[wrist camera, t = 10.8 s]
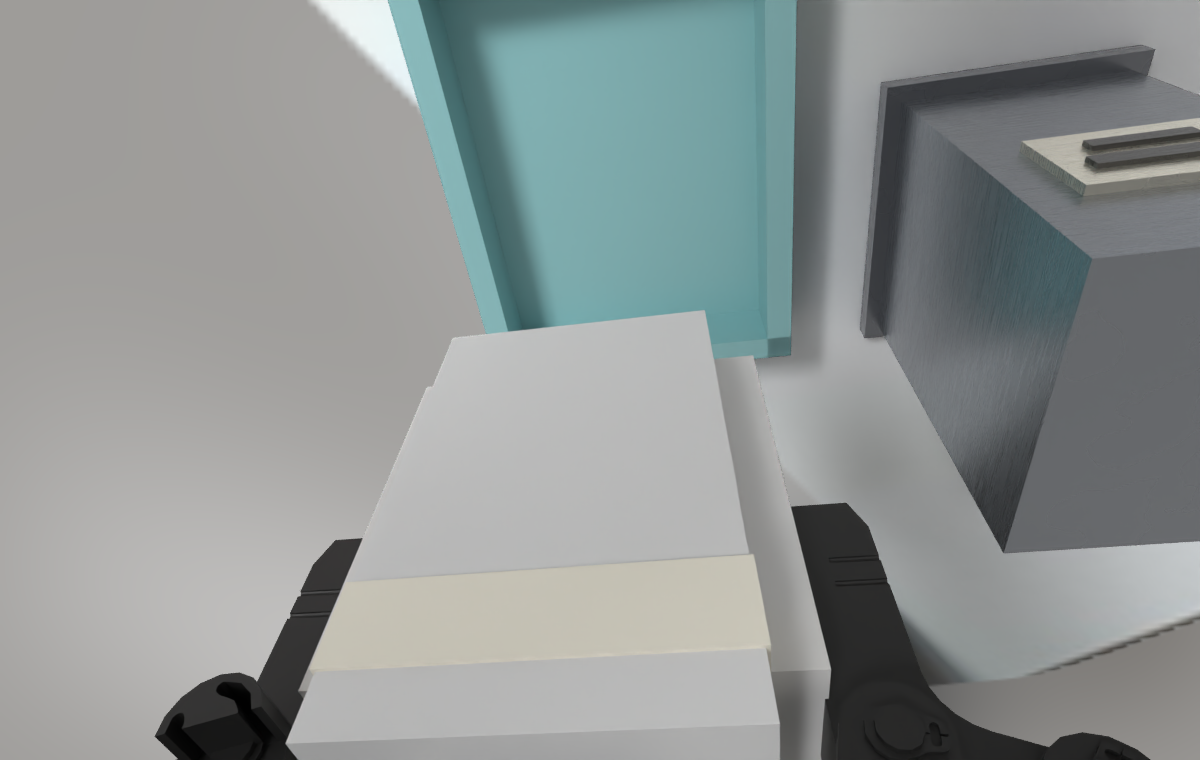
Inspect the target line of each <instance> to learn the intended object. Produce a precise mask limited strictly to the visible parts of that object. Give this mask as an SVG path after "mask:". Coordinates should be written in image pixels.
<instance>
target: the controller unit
mask: <svg viewBox="0 0 1200 760" xmlns="http://www.w3.org/2000/svg"><path fill="white" fill-rule="evenodd" d="M1154 52H1155V49H1153V48H1150V47H1147V46H1143V45H1138V46H1131V47H1124V48H1117V49H1110V50H1103V51H1096V52H1089V53H1082V54H1075V55H1069V56H1062V57H1055V58H1048V59H1041V60H1034V61H1027V62H1020V63H1013V64H1006V65H999V66H992V67H986V68H979V69H972V70H965V71H958V72H951V73H944V74H937V75H930V76H923V77H916V78H909V79H903V80H896V81H889V82H882V83H881V91H880V102H879V114H878V125H877V137H876V149H875V160H874V172H873V183H872V195H871V206H870V218H869V230H868V241H867V253H866V264H865V276H864V287H863V299H862V311H861V322H860V330H861V332H862V334H863V336H864V338H871V337H881V336H885V338H886V340H887V342H888V344H889V345H890V347H891V349H892V351H893V353H894V355H895V356H896V358H897V360H898V362H899V364H900V365H901V367H902V369H903V371H904V373H905V375H906V376H907V378H908V380H909V382H910V384H911V385H912V387H913V389H914V391H915V393H916V395H917V396H918V398H919V400H920V402H921V404H922V405H923V407H924V409H925V411H926V413H927V415H928V416H929V418H930V420H931V422H932V424H933V426H934V427H935V429H936V431H937V433H938V435H939V436H940V438H941V440H942V442H943V444H944V446H945V447H946V449H947V451H948V453H949V455H950V456H951V458H952V460H953V462H954V464H955V466H956V467H957V469H958V471H959V473H960V475H961V476H962V478H963V480H964V482H965V484H966V486H967V487H968V489H969V491H970V493H971V495H972V497H973V498H974V500H975V502H976V504H977V506H978V507H979V509H980V511H981V513H982V515H983V517H984V518H985V520H986V522H987V524H988V526H989V527H990V529H991V531H992V533H993V535H994V537H995V538H996V540H997V542H998V544H999V546H1000V547H1001V549H1002V551H1003V553H1017V552H1033V551H1049V550H1065V549H1081V548H1097V547H1113V546H1129V545H1145V544H1162V543H1178V542H1194V541H1200V95H1197V94H1194V93H1192V92H1189V91H1187V90H1184V89H1181V88H1179V87H1176V86H1173V85H1171V84H1168V83H1165V82H1163V81H1160V80H1158V79H1155V78H1152V77H1150V76H1147V75H1148V71H1149V68H1150V65H1151V61H1152V58H1153V55H1154Z"/></svg>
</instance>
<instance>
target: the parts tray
mask: <svg viewBox="0 0 1200 760" xmlns="http://www.w3.org/2000/svg"><path fill="white" fill-rule="evenodd" d="M388 3H389V6H390V10H391V13H392V16H393V20H394V23H395V27H396V30H397V33H398V37H399V40H400V43H401V47H402V50H403V54H404V57H405V60H406V64H407V67H408V71H409V74H410V77H411V81H412V84H413V88H414V91H415V94H416V98H417V101H418V105H419V108H420V111H421V115H422V118H423V121H424V125H425V128H426V132H427V135H428V138H429V142H430V145H431V149H432V152H433V155H434V159H435V162H436V166H437V169H438V172H439V176H440V179H441V183H442V186H443V189H444V193H445V196H446V199H447V203H448V206H449V209H450V213H451V216H452V219H453V223H454V226H455V230H456V233H457V237H458V240H459V243H460V247H461V250H462V254H463V257H464V260H465V264H466V267H467V271H468V274H469V277H470V281H471V284H472V287H473V291H474V294H475V298H476V301H477V305H478V308H479V311H480V315H481V318H482V321H483V325H484V328H485V331H486V334H492V333H501V332H510V331H519V330H528V329H537V328H547V327H556V326H565V325H574V324H583V323H592V322H601V321H610V320H619V319H628V318H637V317H646V316H655V315H664V314H673V313H682V312H691V311H700V310H705V314H706V319H707V325H708V330H709V336H710V341H711V347H712V352H713V358H714V359H720V358H730V357H740V356H750V355H753V357H754V359H758V358H768V357H778V356H788V355H791V310H792V250H793V190H794V130H795V70H796V10H797V0H388Z"/></svg>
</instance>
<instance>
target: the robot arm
mask: <svg viewBox="0 0 1200 760" xmlns="http://www.w3.org/2000/svg"><path fill="white" fill-rule="evenodd" d="M714 363H715V369H716V374H717V380H718V385H719V391H720V397H721V402H722V408H723V413H724V419H725V424H726V430H727V435H728V441H729V446H730V452H731V457H732V463H733V468H734V474H735V479H736V485H737V490H738V496H739V501H740V507H741V512H742V518H743V523H744V529H745V534H746V540H747V545H748V551H749V555H750V554H754V557H755V563H756V568H757V573H758V579H759V584H760V589H761V595H762V600H763V605H764V610H765V616H766V621H767V626H768V632H769V637H770V642H771V677H772V683H773V688H774V694H775V699H776V705H777V710H778V716H779V722H780V760H1150V759H1149V758H1147V757H1146V756H1145V755H1143V754H1142V753H1141V752H1139V751H1138V750H1137V749H1135V748H1133V747H1130V746H1128V745H1126V744H1124V743H1122V742H1120V741H1117V740H1115V739H1113V738H1111V737H1108V736H1102V735H1095V734H1089V733H1083V732H1082V733H1078V734H1073V735H1068V736H1063V737H1060V738H1059V739H1058V740H1057V741H1056V742H1055V743H1053V744H1052V745H1051V746H1050V747H1046V746H1042V745H1039V744H1035V743H1032V742H1028V741H1024V740H1021V739H1017V738H1014V737H1010V736H1006V735H1003V734H999V733H995V732H992V731H989V730H987V729H984V728H981V727H979V726H976V725H974V724H972V723H970V722H968V721H967V720H965V719H963V718H961V717H960V716H958V715H956V714H955V713H954V712H953V711H951V710H950V709H949V708H948V707H947V706H946V705H944V704H943V703H942V702H941V701H940V700H939V699H938V698H937V696H936V695H935V694H934V693H933V691H932V690H931V689H930V688H929V686H928V685H927V683H926V681H925V679H924V677H923V675H922V673H921V671H920V668H919V665H918V662H917V659H916V657H915V654H914V651H913V648H912V646H911V643H910V640H909V637H908V635H907V632H906V629H905V626H904V624H903V621H902V618H901V615H900V613H899V610H898V607H897V604H896V602H895V599H894V596H893V593H892V590H891V588H890V585H889V584H888V583H887V577H886V574H885V571H884V568H883V566H882V563H881V560H879V556H878V552H877V549H876V546H875V544H874V541H873V538H872V535H871V533H870V530H869V527H868V526H867V524H866V523H865V522H864V521H863V520H862V519H861V518H860V517H859V516H858V515H857V514H856V513H855V512H854V511H853V510H852V509H851V507H850V506H849V505H848V504H847V503H837V504H822V505H808V506H795V507H791V506H790V502H789V498H788V494H787V489H786V485H785V481H784V477H783V473H782V469H781V465H780V461H779V457H778V453H777V449H776V445H775V441H774V437H773V433H772V429H771V425H770V421H769V417H768V413H767V409H766V405H765V401H764V397H763V393H762V389H761V385H760V381H759V377H758V373H757V369H756V365H755V361H754V357H753V355H750V356H740V357H730V358H720V359H714ZM432 387H433V386H432ZM432 387H427V388H426V390H425V392H424V395H423V397H422V399H421V402H420V405H419V407H418V409H417V412H416V414H415V416H414V418H413V421H412V423H411V426H410V428H409V430H408V433H407V435H406V437H405V440H404V442H403V444H402V447H401V449H400V452H399V454H398V456H397V459H396V461H395V463H394V466H393V468H392V471H391V473H390V475H389V478H388V480H387V483H386V485H385V487H384V490H383V492H382V494H381V497H380V499H379V501H378V504H377V506H376V508H375V511H374V513H373V516H372V518H371V520H370V523H369V525H368V527H367V530H366V532H365V534H364V537H363V538H361V539H346V540H335V541H334V543H333V544H332V545H331V546H330V547H329V548H328V549H327V550H326V551H325V552H324V554H323V555H322V556H321V557H320V558H319V559H318V560H317V561H316V562H315V563H314V564H313V566H312V569H311V571H310V573H309V575H308V577H307V579H306V581H305V583H304V585H303V587H302V590H301V596H299V597H298V598H297V600H296V602H295V604H294V606H293V608H292V610H291V612H290V614H291V617H290V619H287V621H286V623H285V625H284V627H283V629H282V631H281V633H280V635H279V637H278V640H277V642H276V644H275V646H274V648H273V650H272V652H271V654H270V656H269V658H268V661H267V662H266V664H265V667H264V669H263V671H262V673H261V675H260V677H259V679H258V681H257V682H256V680H255V679H254V678H252V677H250V676H247V675H245V674H242V673H231V674H222V675H219V676H216V677H214V678H212V679H210V680H207V681H205V682H203V683H200V684H199V685H198V686H197V687H195V688H194V689H192V690H191V691H190V692H188V693H187V694H186V695H184V696H183V697H182V698H181V699H180V700H179V701H178V702H177V703H176V704H175V705H174V707H173V708H172V709H171V710H170V711H169V712H168V713H167V715H166V716H165V717H164V719H163V721H162V723H161V725H160V727H159V729H158V731H157V733H156V735H155V737H156V738H157V739H158V740H159V741H160V742H161V743H162V744H163V745H164V746H165V747H166V748H168V750H169V751H170V752H172V753H173V754H174V755H175V756H176V757H177V758H178V759H177V760H298V759H297V758H296V756H295V755H294V754H293V753H292V751H291V750H290V749H289V748H288V746H287V745H286V744H285V743H286V741H287V739H288V736H289V734H290V731H291V729H292V726H293V724H294V722H295V719H296V717H297V714H298V712H299V710H300V707H301V705H302V702H303V700H304V697H305V695H306V693H307V690H308V688H309V685H310V683H311V680H312V678H313V675H312V673H311V672H310V670H309V669H310V666H311V664H312V662H313V659H314V657H315V654H316V652H317V650H318V647H319V645H320V643H321V640H322V638H323V635H324V633H325V631H326V628H327V626H328V624H329V621H330V619H331V616H332V614H333V612H334V609H335V607H336V605H337V602H338V600H339V597H340V595H341V593H342V590H343V588H344V586H345V583H346V582H352V581H353V579H354V576H355V574H356V571H357V569H358V566H359V564H360V562H361V559H362V557H363V554H364V552H365V549H366V547H367V545H368V542H369V540H370V537H371V535H372V532H373V530H374V528H375V525H376V523H377V520H378V518H379V515H380V513H381V511H382V508H383V506H384V503H385V501H386V498H387V496H388V494H389V491H390V489H391V486H392V484H393V482H394V479H395V477H396V474H397V472H398V469H399V467H400V465H401V462H402V460H403V457H404V455H405V452H406V450H407V448H408V445H409V443H410V440H411V438H412V435H413V433H414V431H415V428H416V426H417V423H418V421H419V418H420V416H421V414H422V411H423V409H424V406H425V404H426V401H427V399H428V397H429V394H430V392H431V389H432Z"/></svg>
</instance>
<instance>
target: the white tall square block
mask: <svg viewBox="0 0 1200 760" xmlns="http://www.w3.org/2000/svg"><path fill="white" fill-rule="evenodd" d="M309 670H310V672H311V673H312V675H313V678H312V680H311V683H310V685H309V688H308V690H307V693H306V695H305V697H304V700H303V702H302V705H301V707H300V710H299V712H298V714H297V717H296V719H295V722H294V724H293V726H292V729H291V731H290V734H289V736H288V739H287V741H286V743H285V744H286V745H287V746H288V748H289V749H290V750H291V751H292V753H293V754H294V755H295V756H296V758H297V759H298V760H780V722H779V716H778V710H777V705H776V699H775V694H774V688H773V683H772V677H771V642H770V637H769V632H768V626H767V621H766V616H765V610H764V605H763V600H762V595H761V589H760V584H759V579H758V573H757V568H756V563H755V557H754V554H750V555H749V551H748V545H747V540H746V534H745V529H744V523H743V518H742V512H741V507H740V501H739V496H738V490H737V485H736V479H735V474H734V468H733V463H732V457H731V452H730V446H729V441H728V435H727V430H726V424H725V419H724V413H723V408H722V402H721V397H720V391H719V385H718V380H717V374H716V369H715V363H714V358H713V352H712V347H711V341H710V336H709V330H708V325H707V319H706V314H705V310H700V311H691V312H682V313H673V314H664V315H655V316H646V317H637V318H628V319H619V320H610V321H601V322H592V323H583V324H574V325H565V326H556V327H547V328H537V329H528V330H519V331H510V332H501V333H492V334H483V335H475V336H465V337H456V338H452V341H451V344H450V346H449V348H448V351H447V353H446V355H445V358H444V360H443V363H442V365H441V368H440V370H439V372H438V375H437V378H436V380H435V382H434V385H433V387H432V389H431V392H430V394H429V397H428V399H427V401H426V404H425V406H424V409H423V411H422V414H421V416H420V418H419V421H418V423H417V426H416V428H415V431H414V433H413V435H412V438H411V440H410V443H409V445H408V448H407V450H406V452H405V455H404V457H403V460H402V462H401V465H400V467H399V469H398V472H397V474H396V477H395V479H394V482H393V484H392V486H391V489H390V491H389V494H388V496H387V498H386V501H385V503H384V506H383V508H382V511H381V513H380V515H379V518H378V520H377V523H376V525H375V528H374V530H373V532H372V535H371V537H370V540H369V542H368V545H367V547H366V549H365V552H364V554H363V557H362V559H361V562H360V564H359V566H358V569H357V571H356V574H355V576H354V579H353V581H352V582H346V583H345V586H344V588H343V590H342V593H341V595H340V597H339V600H338V602H337V605H336V607H335V609H334V612H333V614H332V616H331V619H330V621H329V624H328V626H327V628H326V631H325V633H324V635H323V638H322V640H321V643H320V645H319V647H318V650H317V652H316V654H315V657H314V659H313V662H312V664H311V666H310V669H309Z"/></svg>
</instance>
